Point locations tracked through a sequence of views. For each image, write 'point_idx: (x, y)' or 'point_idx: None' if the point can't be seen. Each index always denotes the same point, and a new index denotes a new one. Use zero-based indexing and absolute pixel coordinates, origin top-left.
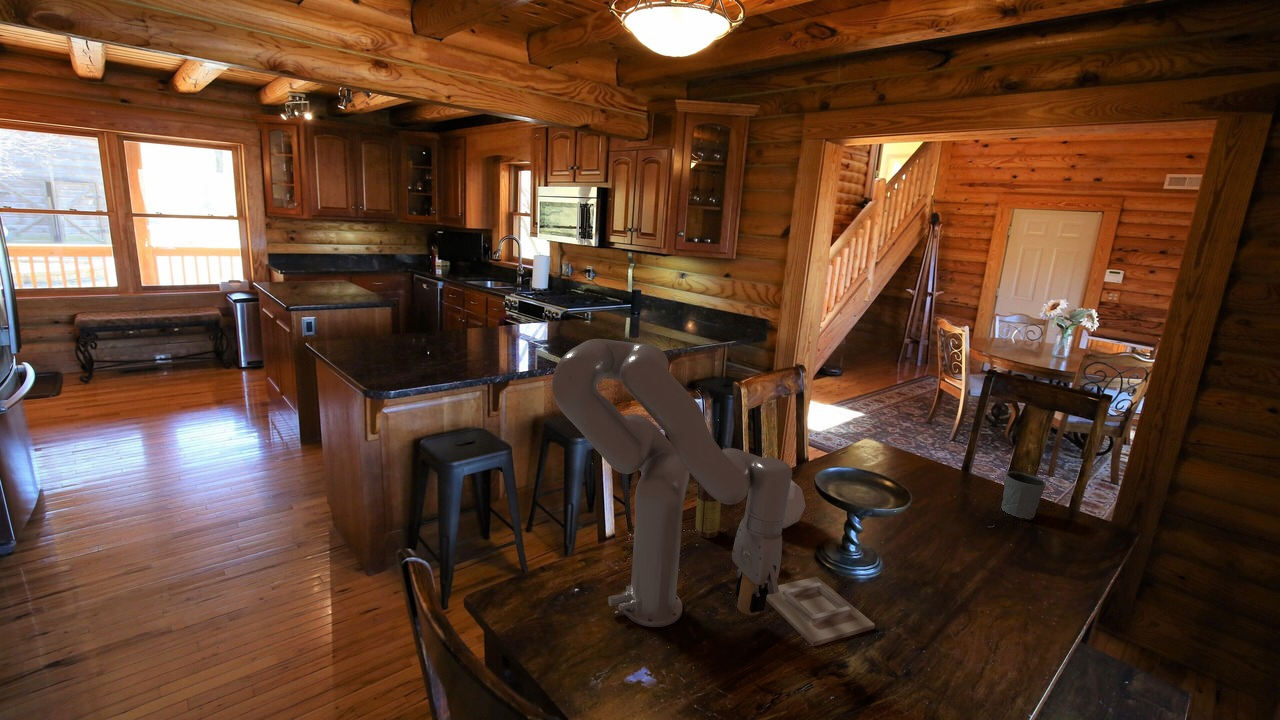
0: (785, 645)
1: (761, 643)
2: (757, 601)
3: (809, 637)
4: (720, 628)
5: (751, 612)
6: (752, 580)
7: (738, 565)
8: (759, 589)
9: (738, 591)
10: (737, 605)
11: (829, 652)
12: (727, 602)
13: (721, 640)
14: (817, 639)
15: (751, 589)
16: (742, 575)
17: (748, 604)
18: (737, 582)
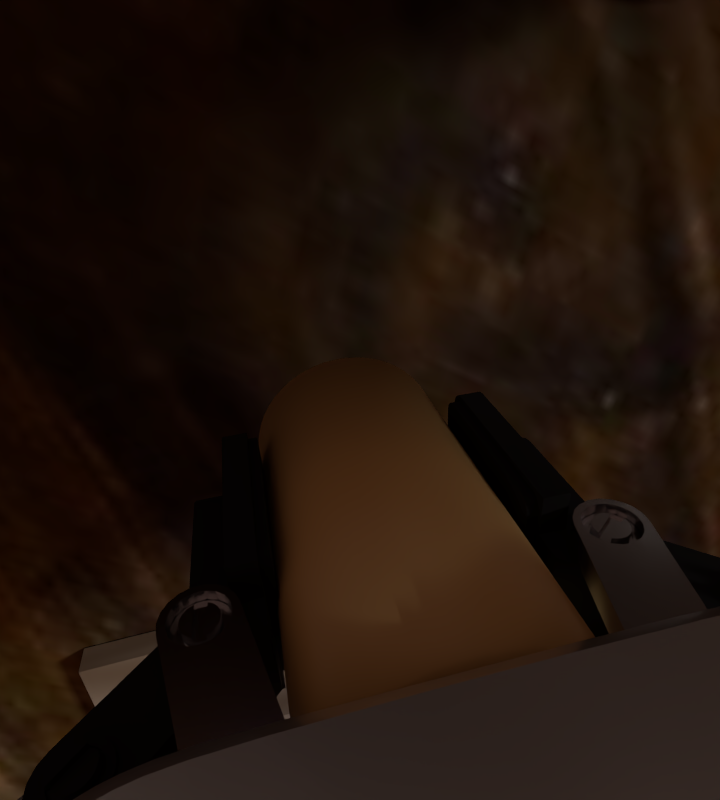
0: (105, 527)
1: (137, 402)
2: (207, 554)
3: (120, 664)
4: (332, 187)
5: (222, 439)
6: (165, 798)
7: (705, 665)
8: (170, 708)
9: (471, 429)
10: (387, 366)
11: (32, 701)
12: (542, 347)
13: (202, 129)
14: (100, 692)
15: (303, 582)
16: (532, 585)
17: (283, 451)
18: (538, 464)
